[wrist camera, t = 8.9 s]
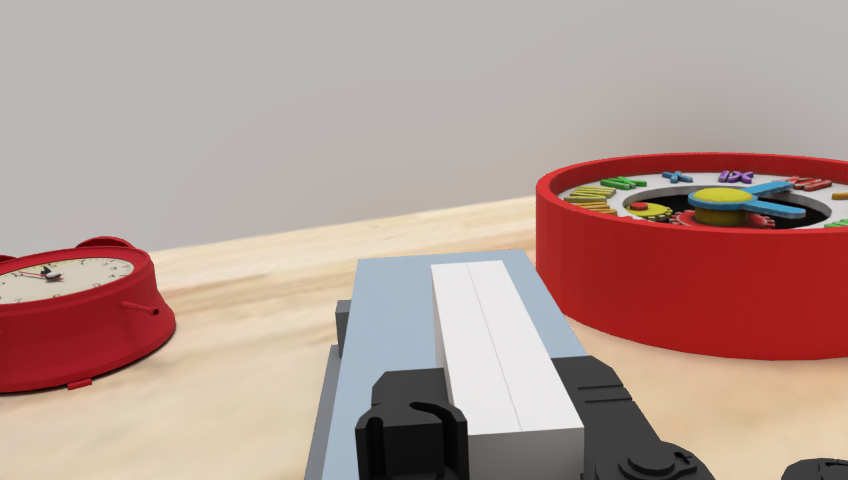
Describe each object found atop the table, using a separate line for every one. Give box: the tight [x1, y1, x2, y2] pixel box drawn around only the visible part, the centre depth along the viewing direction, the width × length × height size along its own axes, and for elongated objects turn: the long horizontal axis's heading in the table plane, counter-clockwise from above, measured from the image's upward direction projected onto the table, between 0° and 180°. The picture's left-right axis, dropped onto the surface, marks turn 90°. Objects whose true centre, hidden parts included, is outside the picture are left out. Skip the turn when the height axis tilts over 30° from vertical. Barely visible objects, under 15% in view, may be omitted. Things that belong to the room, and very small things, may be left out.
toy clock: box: [536, 152, 848, 361], centre depth 38 cm, size 20×6×20 cm
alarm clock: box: [0, 236, 176, 392], centre depth 36 cm, size 10×6×15 cm
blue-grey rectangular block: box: [322, 249, 588, 480], centre depth 19 cm, size 6×6×15 cm
